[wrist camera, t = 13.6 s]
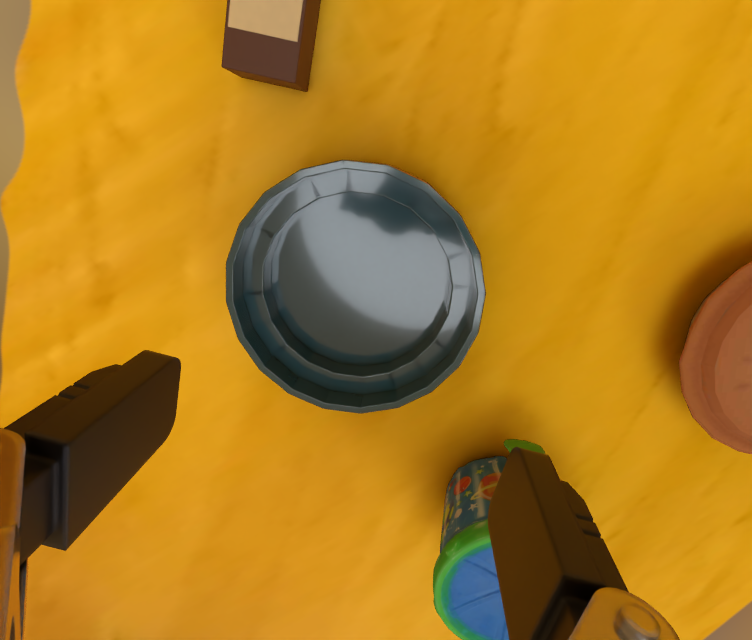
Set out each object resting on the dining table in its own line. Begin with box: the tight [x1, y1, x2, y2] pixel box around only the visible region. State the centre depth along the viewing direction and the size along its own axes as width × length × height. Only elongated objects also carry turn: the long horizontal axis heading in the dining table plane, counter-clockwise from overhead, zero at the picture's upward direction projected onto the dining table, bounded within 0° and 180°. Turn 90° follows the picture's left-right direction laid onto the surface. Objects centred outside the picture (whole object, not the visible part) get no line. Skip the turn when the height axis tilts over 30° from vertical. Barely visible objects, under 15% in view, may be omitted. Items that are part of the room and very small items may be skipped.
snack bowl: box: [226, 160, 486, 413], centre depth 32 cm, size 17×17×4 cm
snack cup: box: [433, 439, 545, 640], centre depth 34 cm, size 16×10×10 cm
